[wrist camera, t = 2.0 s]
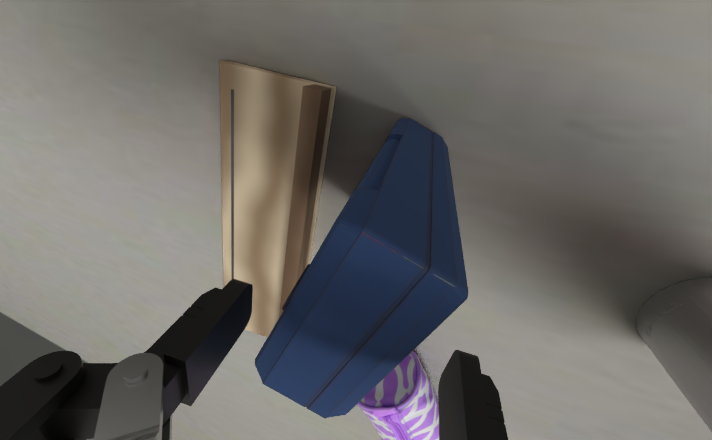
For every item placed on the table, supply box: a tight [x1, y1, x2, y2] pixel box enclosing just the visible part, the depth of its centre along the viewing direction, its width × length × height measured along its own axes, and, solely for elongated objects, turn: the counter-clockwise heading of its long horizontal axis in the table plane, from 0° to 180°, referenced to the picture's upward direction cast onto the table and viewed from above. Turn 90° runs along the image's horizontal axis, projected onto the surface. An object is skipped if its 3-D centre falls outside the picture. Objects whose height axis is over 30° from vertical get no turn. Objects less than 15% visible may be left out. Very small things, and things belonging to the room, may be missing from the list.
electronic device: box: [255, 118, 468, 418], centre depth 20 cm, size 10×5×20 cm, turn 152°
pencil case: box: [357, 351, 439, 440], centre depth 38 cm, size 22×9×10 cm, turn 23°
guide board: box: [219, 61, 337, 337], centre depth 33 cm, size 10×32×4 cm, turn 169°
